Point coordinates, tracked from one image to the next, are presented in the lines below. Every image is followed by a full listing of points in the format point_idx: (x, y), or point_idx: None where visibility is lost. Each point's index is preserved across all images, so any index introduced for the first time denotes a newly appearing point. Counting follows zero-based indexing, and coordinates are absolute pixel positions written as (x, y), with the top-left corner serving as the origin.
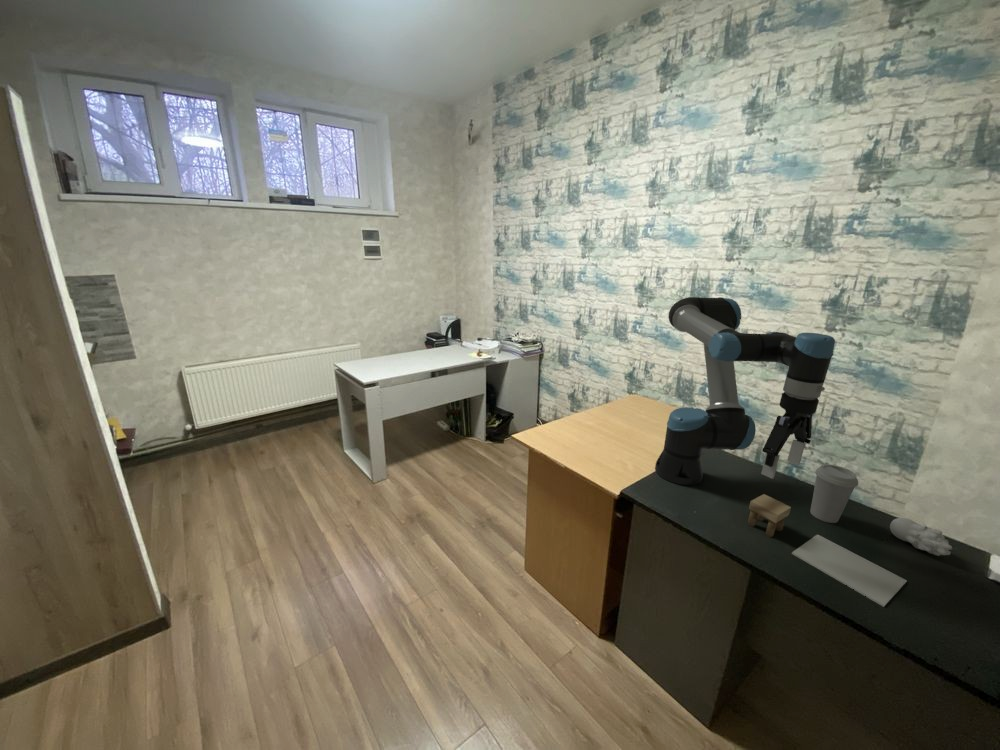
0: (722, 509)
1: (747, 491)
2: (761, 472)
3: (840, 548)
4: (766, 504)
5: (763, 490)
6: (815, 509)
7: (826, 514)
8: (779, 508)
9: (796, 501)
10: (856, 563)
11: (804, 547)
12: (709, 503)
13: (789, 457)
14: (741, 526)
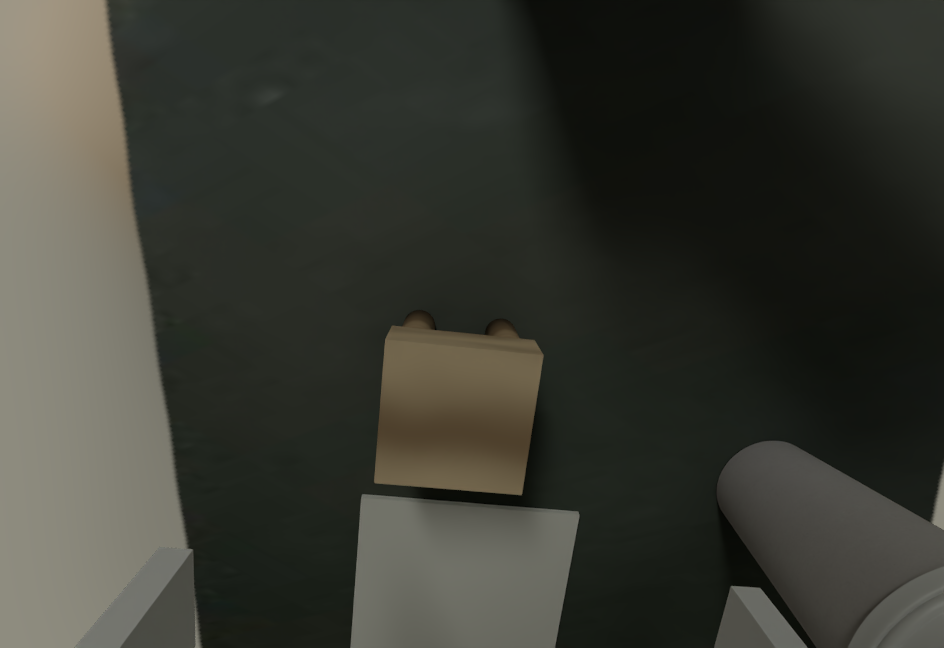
0: (423, 182)
1: (718, 188)
2: (150, 558)
3: (550, 586)
4: (430, 408)
5: (797, 239)
6: (744, 482)
7: (733, 522)
8: (452, 464)
9: (807, 378)
10: (500, 636)
11: (438, 514)
12: (417, 109)
13: (759, 641)
14: (364, 304)
